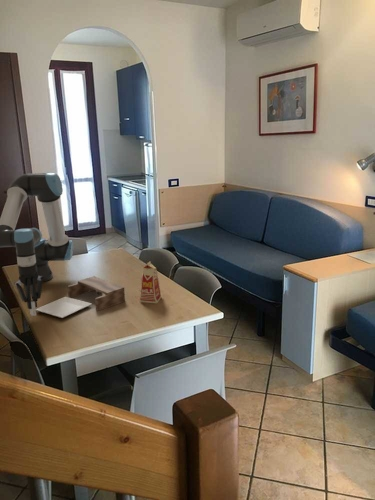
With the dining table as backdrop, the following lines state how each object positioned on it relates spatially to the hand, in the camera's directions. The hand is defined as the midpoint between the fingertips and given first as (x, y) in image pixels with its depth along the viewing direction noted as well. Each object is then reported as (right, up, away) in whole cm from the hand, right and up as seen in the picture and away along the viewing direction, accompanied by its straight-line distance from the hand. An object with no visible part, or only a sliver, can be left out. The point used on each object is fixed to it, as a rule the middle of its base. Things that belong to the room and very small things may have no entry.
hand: (33, 314), depth 184 cm
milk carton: (+51, +4, +22) cm, 55 cm away
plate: (+10, 0, +11) cm, 15 cm away
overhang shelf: (+23, +4, +24) cm, 33 cm away
